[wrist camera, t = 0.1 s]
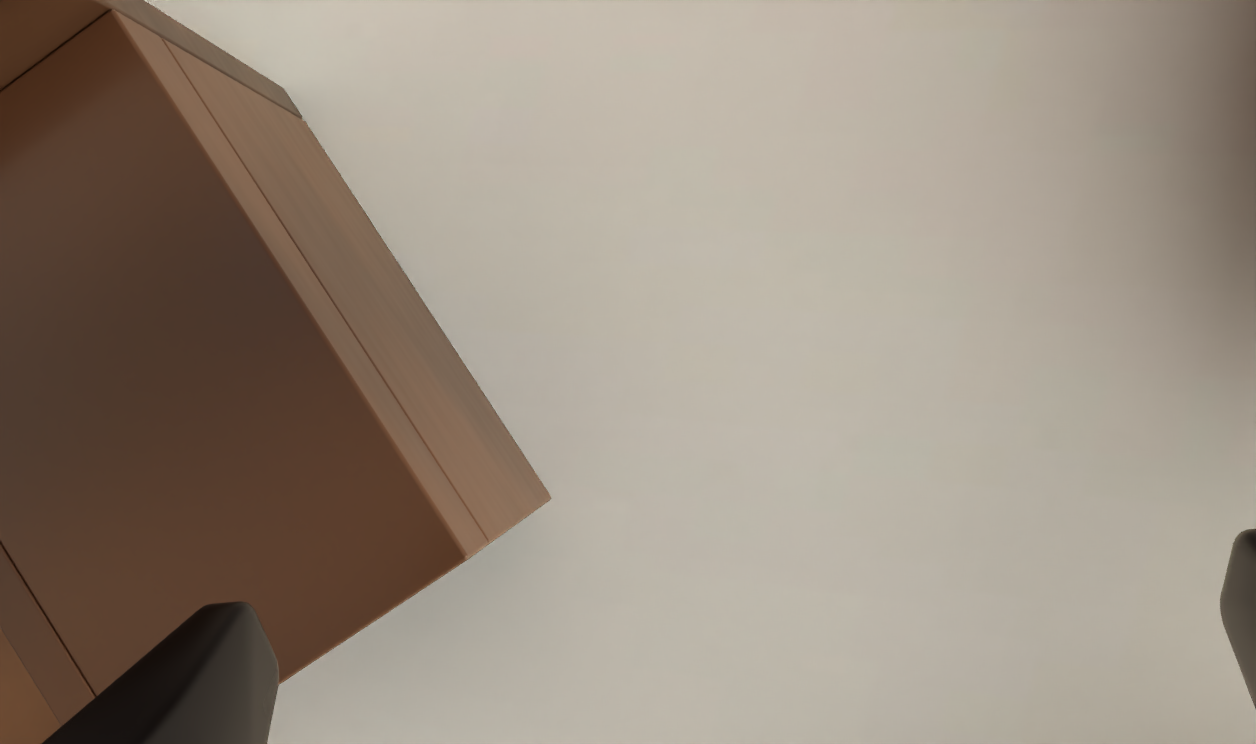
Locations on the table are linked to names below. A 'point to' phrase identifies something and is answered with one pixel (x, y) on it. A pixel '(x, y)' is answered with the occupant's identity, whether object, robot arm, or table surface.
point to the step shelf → (205, 370)
